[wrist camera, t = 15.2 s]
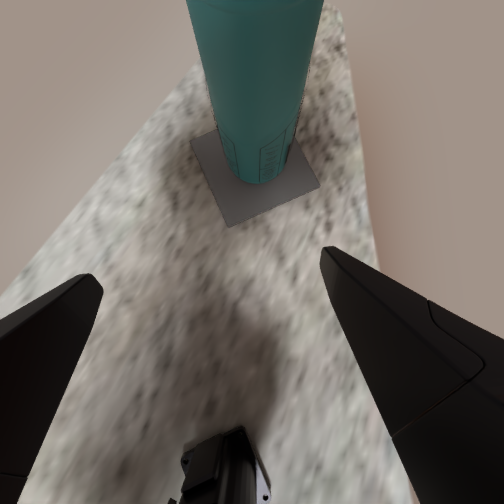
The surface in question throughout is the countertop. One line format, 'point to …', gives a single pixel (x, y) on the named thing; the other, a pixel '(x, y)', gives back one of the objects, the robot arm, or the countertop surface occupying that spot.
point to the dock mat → (248, 194)
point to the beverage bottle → (255, 76)
